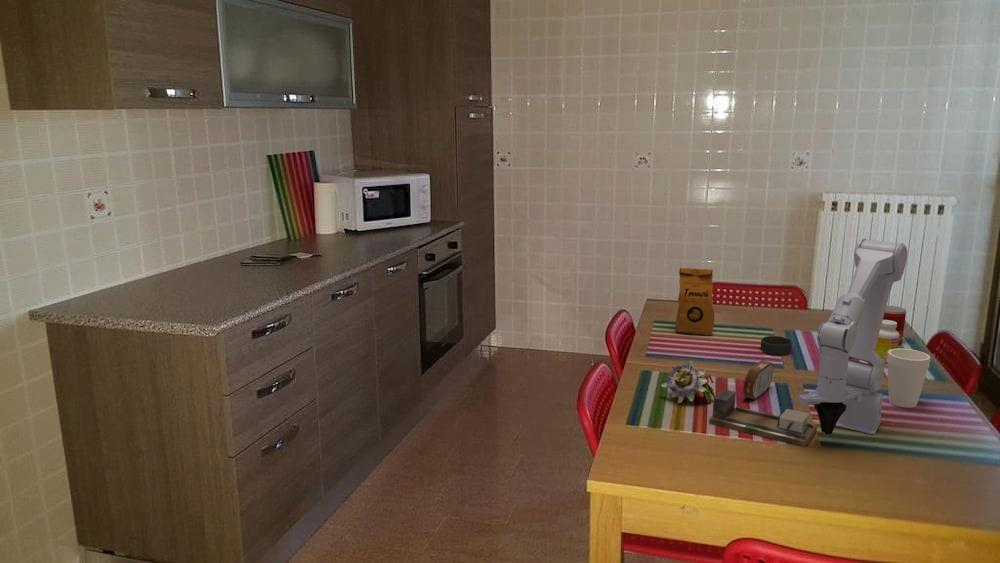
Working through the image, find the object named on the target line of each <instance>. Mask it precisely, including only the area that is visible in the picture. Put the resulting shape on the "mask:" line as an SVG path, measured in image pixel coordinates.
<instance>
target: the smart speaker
mask: <svg viewBox="0 0 1000 563" xmlns="http://www.w3.org/2000/svg"><path fill="white" fill-rule="evenodd" d="M792 345H793V344H792V341H791V339H788V338H787V337H783V336H776V335H768V336H767V335H766V336H764V337H762V338H761V340H760V350H761V352H763V353H765V354H767V353H768V355H771V354H772V355H771V356H786V355H789V354H790V353H791V352H792Z"/></svg>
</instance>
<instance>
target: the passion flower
mask: <svg viewBox="0 0 1000 563" xmlns="http://www.w3.org/2000/svg"><path fill="white" fill-rule="evenodd" d="M671 367H672V370H671V371H670V372H669V375H670V377H668V378H667V380H666V381H665V382H662V383H661V384H660V387H662V388H663V389H666V388H669V389H670V390H671V393H670V398H671V399H677V404H682V403H683V401H684V400H685V397H686V398H687V399H688V401H689V402H693V401H694V400H695V397H696V395H695V394H696V393H697V392H700V393H702V394H703V396H704V398H705V400H706V402H707V403H708V404H712V402H713V398H714V397H716V394H715V392H714V388H712V386H710V384H708V380H707V379H706V377H708V378H709V379H710V382H711V384H713V383H714V380H713V379H714V378H713V377H712V376H711V374H707V375H705V374H706V373H707V370H706V369H705V368H704V369H698V370H695V369H694V362H693V361H692V360H688V362H687V363H685V364H682V365H679V364H676V365H675V366H674V365H672V366H671ZM712 396H713V397H712Z"/></svg>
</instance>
